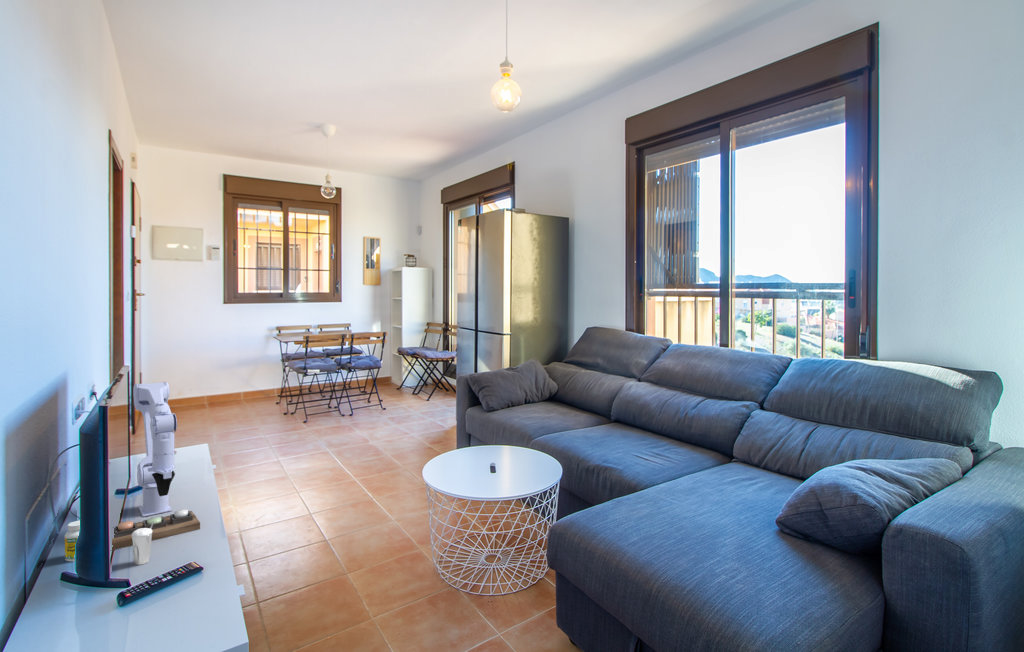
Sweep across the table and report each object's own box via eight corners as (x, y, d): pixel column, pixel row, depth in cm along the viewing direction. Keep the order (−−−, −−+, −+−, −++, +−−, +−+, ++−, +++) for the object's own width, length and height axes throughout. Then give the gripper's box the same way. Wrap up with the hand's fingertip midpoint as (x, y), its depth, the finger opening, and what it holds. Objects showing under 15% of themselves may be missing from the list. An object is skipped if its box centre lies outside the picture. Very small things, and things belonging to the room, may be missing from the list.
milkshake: (159, 558, 138) (159, 522, 138) (139, 567, 133) (139, 530, 133) (147, 555, 140) (147, 520, 140) (127, 564, 135) (127, 527, 134)
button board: (106, 535, 151) (106, 524, 151) (191, 516, 166) (191, 506, 166) (110, 550, 142) (110, 538, 142) (200, 528, 157) (200, 517, 157)
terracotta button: (117, 528, 149) (117, 523, 149) (132, 525, 151) (132, 519, 151) (118, 532, 146) (118, 527, 146) (134, 529, 149) (134, 523, 149)
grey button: (173, 516, 159) (173, 511, 159) (186, 513, 161) (186, 508, 161) (175, 519, 156) (175, 514, 156) (189, 516, 158) (189, 511, 158)
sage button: (146, 524, 154) (146, 519, 154) (160, 520, 156) (160, 515, 156) (148, 528, 151) (148, 522, 151) (162, 524, 154) (162, 519, 154)
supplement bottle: (91, 550, 142) (91, 517, 141) (88, 559, 137) (89, 524, 137) (66, 555, 139) (66, 521, 138) (62, 564, 134) (62, 528, 134)
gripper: (144, 449, 161) (144, 491, 162) (151, 460, 151) (151, 505, 151) (170, 446, 166) (170, 486, 167) (179, 456, 156) (179, 499, 156)
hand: (163, 495), depth 159 cm, fingers closed
